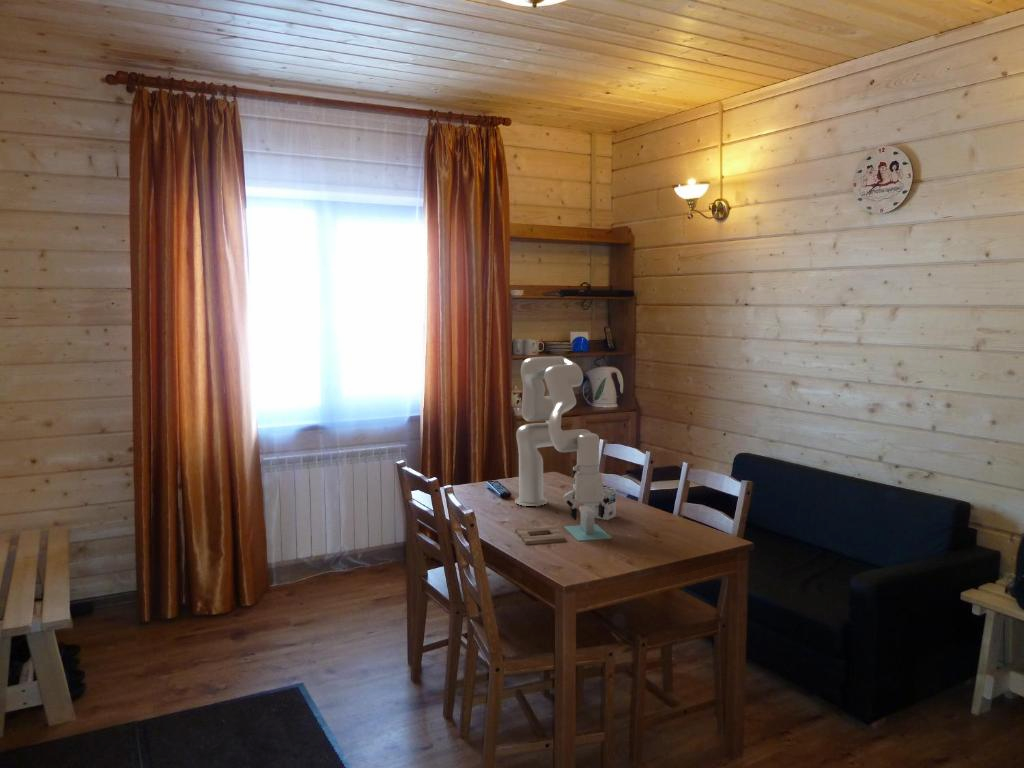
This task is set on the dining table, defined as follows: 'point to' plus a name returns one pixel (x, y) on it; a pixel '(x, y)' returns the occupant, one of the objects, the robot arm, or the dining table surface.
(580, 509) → the metal T-key
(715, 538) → the dining table surface
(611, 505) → the light bulb box
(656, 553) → the dining table surface
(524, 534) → the walnut slot plate
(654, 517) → the dining table surface
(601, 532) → the teal mat
